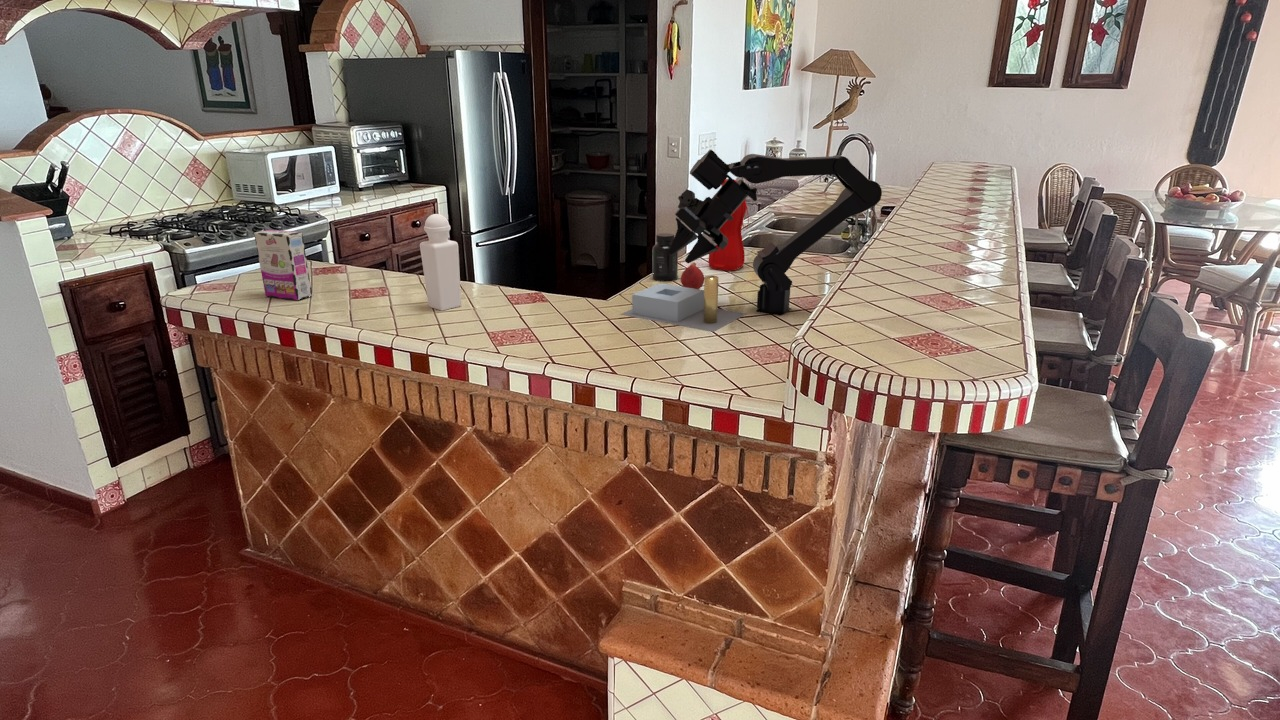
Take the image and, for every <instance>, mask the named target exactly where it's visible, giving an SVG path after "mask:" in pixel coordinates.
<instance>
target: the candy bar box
mask: <svg viewBox="0 0 1280 720" xmlns="http://www.w3.org/2000/svg"><path fill="white" fill-rule="evenodd" d="M253 234H254V240H255V245H256V250H257V255H258V261H259V266H260V267H259V268H260V272H261V278H262V282H263V283H262V285H263V289H264V295H265V297H266V296H270V297H269V298H272V297H278V298H277V299H280V298H284V299H283V300H289V299H292V300H291V301H297V300H299V301H301V300H300V299H302V300H304V299H303V298H305V299H307V298H306V297H309V296H311V295H312V296H313V292H312V286H311V280H310V273H309V266H308V261H307V255H306V248H305V243H304V236H303V232H302V231H293V230H281V229H280V230H277V229H266V230H265V229H264V230H259V231H256V232H253ZM312 296H311V297H312ZM309 298H310V297H309Z"/></svg>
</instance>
